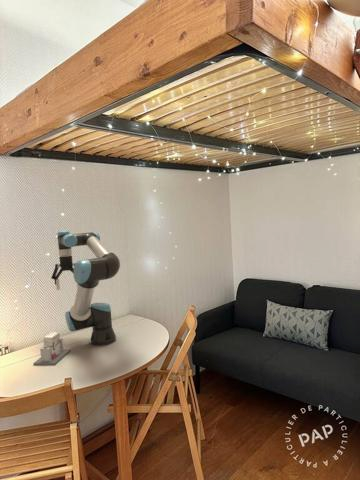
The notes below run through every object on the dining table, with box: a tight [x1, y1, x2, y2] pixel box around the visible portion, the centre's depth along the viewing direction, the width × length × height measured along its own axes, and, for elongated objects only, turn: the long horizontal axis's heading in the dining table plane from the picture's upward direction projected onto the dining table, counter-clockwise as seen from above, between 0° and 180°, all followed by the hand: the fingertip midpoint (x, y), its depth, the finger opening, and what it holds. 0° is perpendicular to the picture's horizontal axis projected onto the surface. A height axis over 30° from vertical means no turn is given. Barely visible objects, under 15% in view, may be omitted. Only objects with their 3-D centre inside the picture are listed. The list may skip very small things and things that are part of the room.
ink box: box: [43, 331, 61, 359], centre depth 180 cm, size 9×5×12 cm, turn 171°
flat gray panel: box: [32, 337, 72, 366], centre depth 180 cm, size 12×18×9 cm, turn 173°
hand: (68, 289), depth 208 cm, fingers open, 13 cm apart
